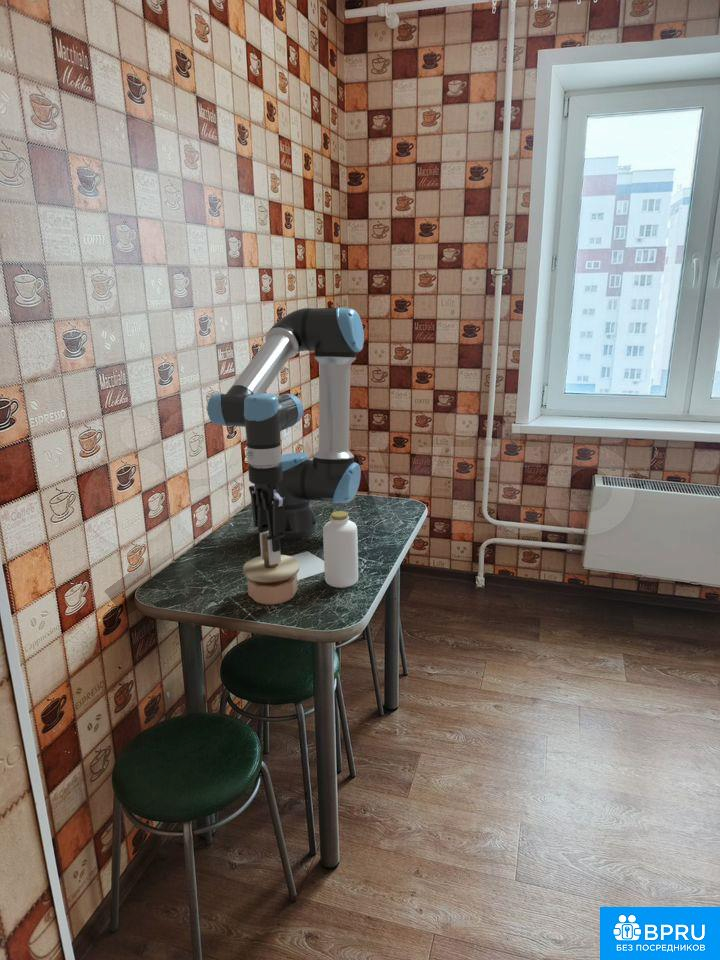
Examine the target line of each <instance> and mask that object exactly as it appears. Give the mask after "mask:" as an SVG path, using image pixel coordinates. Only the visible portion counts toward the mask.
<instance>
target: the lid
mask: <svg viewBox="0 0 720 960" xmlns="http://www.w3.org/2000/svg"><path fill="white" fill-rule="evenodd" d="M262 537H263V552H264V560H262V559H261V555H260V556H257V557H254V558H252V559H249V560H248V561H246V562H245V563H244V565H243V567H242V570H243V575H244V577H245V578H246V579H247V580H248V579H250V580H253V581H256V582H278V581H283V580H286V579H289V578H291V577H293V576H295V575H296V574H297V573H298V571H299V562H298V560H297V559H295V558H293V557H291V556H292V555H288V554H287V555H285V554H281V562H280V563H276V564H273V565H270V564H269V553H268V540H267V537H269V532H266V533H264V534H263V535H262Z"/></svg>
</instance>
